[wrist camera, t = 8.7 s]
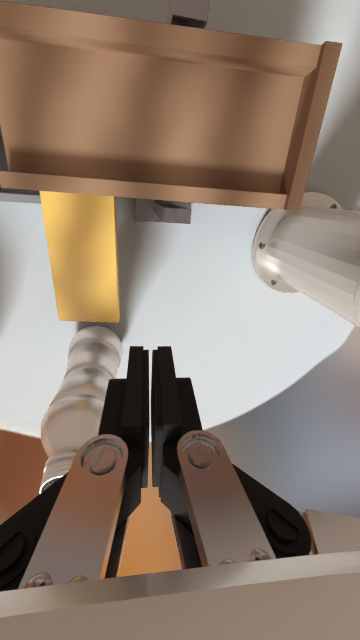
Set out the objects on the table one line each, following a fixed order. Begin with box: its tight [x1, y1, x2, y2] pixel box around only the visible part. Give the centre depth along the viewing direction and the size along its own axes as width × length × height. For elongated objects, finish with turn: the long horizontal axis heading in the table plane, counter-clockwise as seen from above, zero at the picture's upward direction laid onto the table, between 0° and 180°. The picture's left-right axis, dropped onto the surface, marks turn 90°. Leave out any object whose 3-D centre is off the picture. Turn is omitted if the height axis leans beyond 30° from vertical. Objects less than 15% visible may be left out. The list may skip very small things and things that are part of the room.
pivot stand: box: [135, 0, 209, 224], centre depth 22 cm, size 6×14×11 cm, turn 176°
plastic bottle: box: [39, 326, 123, 494], centre depth 27 cm, size 6×7×20 cm
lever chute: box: [0, 1, 342, 323], centre depth 21 cm, size 21×19×6 cm
